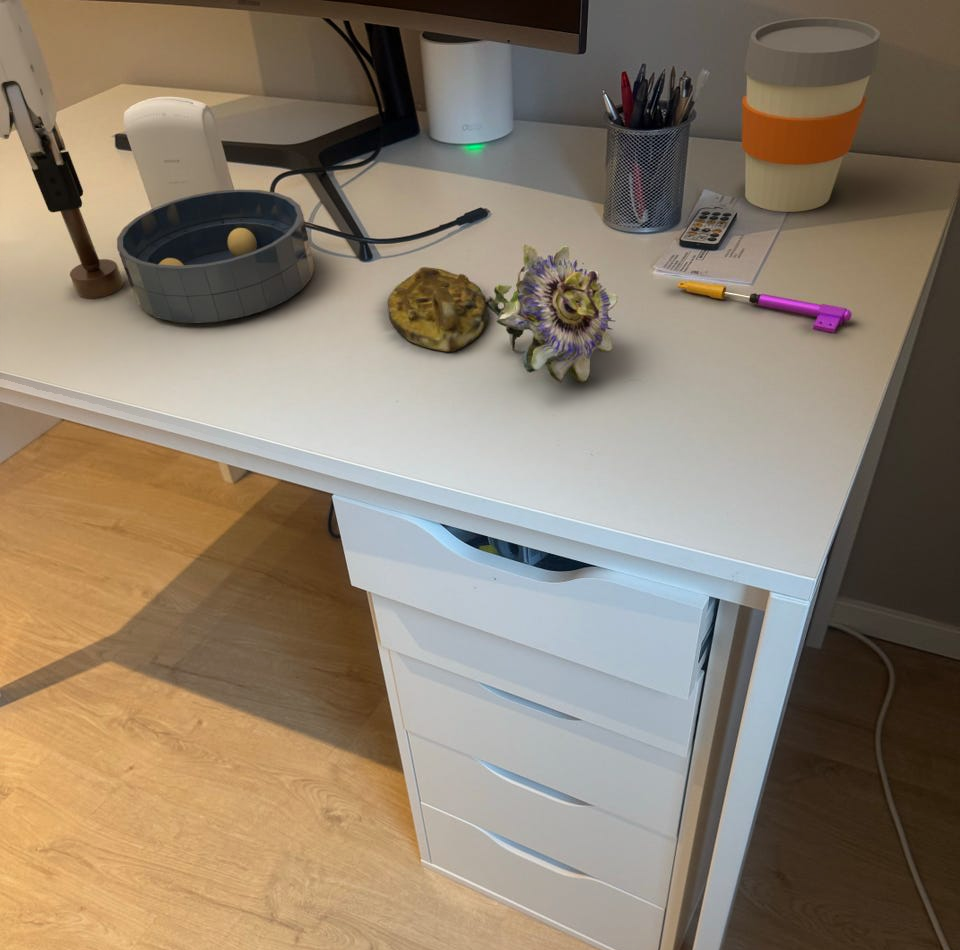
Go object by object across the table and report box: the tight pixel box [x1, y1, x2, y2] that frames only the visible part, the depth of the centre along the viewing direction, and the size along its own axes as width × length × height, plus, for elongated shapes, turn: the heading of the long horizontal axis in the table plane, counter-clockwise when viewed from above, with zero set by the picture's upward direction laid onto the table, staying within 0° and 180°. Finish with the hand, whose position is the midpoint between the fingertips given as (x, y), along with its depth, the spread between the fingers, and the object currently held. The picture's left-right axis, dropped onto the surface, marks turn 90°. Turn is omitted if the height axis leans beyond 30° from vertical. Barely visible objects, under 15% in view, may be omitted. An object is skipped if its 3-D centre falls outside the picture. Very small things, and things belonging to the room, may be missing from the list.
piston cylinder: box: [677, 280, 853, 334], centre depth 82 cm, size 3×1×16 cm
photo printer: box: [123, 96, 235, 209], centre depth 102 cm, size 10×4×12 cm, turn 81°
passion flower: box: [486, 244, 618, 384], centre depth 76 cm, size 11×11×12 cm
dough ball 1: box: [158, 258, 183, 266], centre depth 91 cm, size 3×3×3 cm
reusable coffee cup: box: [741, 16, 881, 213], centre depth 93 cm, size 12×13×15 cm
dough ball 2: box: [228, 228, 257, 257], centre depth 95 cm, size 3×3×3 cm
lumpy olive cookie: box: [387, 266, 489, 352], centre depth 84 cm, size 9×5×15 cm
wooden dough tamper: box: [46, 141, 124, 299], centre depth 90 cm, size 5×5×14 cm
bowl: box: [116, 188, 315, 324], centre depth 91 cm, size 18×18×6 cm
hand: (66, 201), depth 89 cm, fingers closed
